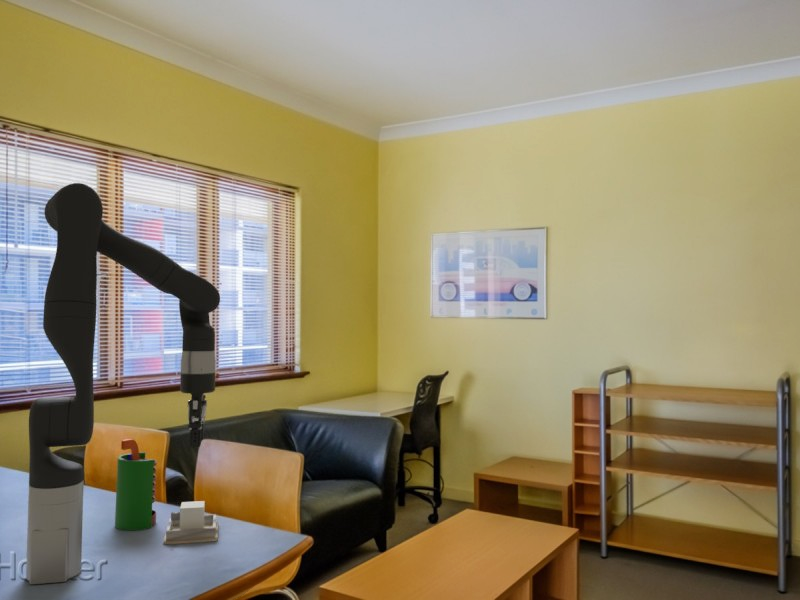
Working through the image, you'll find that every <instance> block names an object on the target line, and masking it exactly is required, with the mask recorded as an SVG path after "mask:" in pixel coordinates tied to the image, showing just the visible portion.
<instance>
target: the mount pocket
mask: <svg viewBox="0 0 800 600" xmlns="http://www.w3.org/2000/svg"><path fill="white" fill-rule="evenodd" d="M218 532H219V521H217V514H216V513H215V514H214V513H213V514H204V528H198V529H183V530H180V520H177V521H171V516H170V517H169V520H168V524H167V527H166V531H165V534H164V538H163V541H162V544H163V546H165V545H177V544H189V543H190V544H192V543H204V542H205V543H206V542H217V541H218V539H219V538H218V537H219V533H218Z"/></svg>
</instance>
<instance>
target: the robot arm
mask: <svg viewBox="0 0 800 600" xmlns="http://www.w3.org/2000/svg"><path fill="white" fill-rule="evenodd" d="M103 211H104V208H103V202H102V200H101V197H100V196H99V194H98V193H97V192H96V190H94V188H92V186H89V185H88V184H85V183H80V182H74V183H70V184H67V185H65V186H62V187H61V188H60V189H58V191H56V192H55V193H54V194H53V195H52V196H51V197H50V198H49V200H48V201H47V202H46V204H45V206H44V218H45V220H46V222H47V224H48V225H49V227H50V228H51V229H53V230H54V231H55V232H56V236H57V237H56V238H57V240H56V241H57V242H56V251H55V255H54V256H55V257H54V261H53V264H52V268H51V271H50V273H49V276H48V282H47V284H46V287H45V288H46V289H45V294H44V301H43V320H42V322H43V323H42V327H43V331H44V334H45V335H46V338H47V339H48V341H49V343H50V344H51V346H52V347H53V348H54V351H55V352H56V353H57V354H58V356H59V357H60V359H61V361H62V362H63V364H64V366H65V367H66V369H67V370H68V372H69V375H70V377H71V379H72V382H73V385H74V389H75V396H64V397H62V396H60V397H58V396H57V397H40V398H36V399H35V400H34V401H33V402H32V404H31V406H30V408H29V414H28V442H29V464H28V465H29V468H28V469H29V470H28V471H29V472H28V475H29V476H28V500H27V528H26V529H27V534H26V535H27V537H26V538H27V539H26V570H25V571H26V572H25V573H26V574H25V579H26V581H28V583H29V585H43V584H51V583H52V584H53V583H65V582H68V581H69V580H70V579H72V578H73V577H74V578H75V577H76V576H77V575H79V574H80V573H81V571H82V556H83V555H82V554H83V548H82V547H83V519H84V518H83V516H84V488H85V487H84V485H85V484H84V483H85V480H84V479H85V476H84V475H85V470H84V466H83V465H82V464H80V463H78V462H76V461H73V460H68V459H65V458H63V457H60V456H58V455H57V454H55V453H54V452H52V450H51V449H50V448H54V447H57V448H58V447H72V446H73V447H77V446H85V445H88V444H89V443H90V441H91V440H92V438H93V432H94V424H95V405H94V403H95V402H94V401H95V400H94V396H95V395H94V352H95V340H96V339H95V338H96V337H95V336H96V325H97V323H96V322H97V303H98V302H97V290H98V289H97V285H98V284H97V283H98V273H97V272H98V271H97V269H98V268H97V267H98V265H97V261H98V260H97V258H98V256H97V255H98V253H100V254H101V255H103V256H104V257H107V258H109V259H110V260H112V261H114V262H115V263H117V264H118V265H120V266H121V267H124V268H125V269H126V270H128V271H130V272H131V273H132V274H135V275H136V276H138V277H139V278H140V279H142V280H144V281H145V282H146V283H148V284H150V285H151V286H152V287H154V288H155V289H157V290H159V291H160V292H163V293H166V294H169V295H171V296H174V297H175V298H177V299H178V300H179V303H178V306H179V315H180V322H181V326H182V327H181V328H182V343H181V344H182V348H181V349H182V351H181V359H180V383H179V384H180V386H179V390H180V392H181V393H182V394H190V395H191V399H190V400H188V401H187V411H188V413H187V421H188V424H187V426H188V429H189V431H190V432H189V447H191V448H200V446H201V443H202V442H201V441H203V440H204V424H205V421H206V420H205V418H206V416H207V408H208V400H207V399H206V394H211V393H214V392H215V391H216V365H217V364H216V363H217V362H216V353H215V352H216V351H215V348H216V334H215V328H214V327H213V326H212V325H211V323H210V313H211V312H214V311H215V310H216V309H217V308H218V307H219V305H220V302H221V295H220V293H219V291H218V289H217V287H215V285H214V284H212V283H211V282H210V281H208V280H206V279H205V278H203V277H201V276H199V275H197V274H196V273H194V272H192V271H190V270H187V269H185V268H184V267H182V266H181V265H180V264H178V263H177V262H176V261H174V260H173V259H172V258H170V257H169V256H167V255H166V254H165V253H163V252H162V251H160V250H158V249H157V248H155V247H154V246H152V245H150V244H147V243H144V242H143V241H140V240H139V239H135V238H134V237H131V236H128V235H126V234H124V233H123V232H120V231H118V230H117V229H115V228H114V227H112V226H111V225H109V224H107V223H106V222H105V221H104V220H103V219H102V218H103V214H104V212H103Z"/></svg>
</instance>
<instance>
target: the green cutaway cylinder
mask: <svg viewBox="0 0 800 600" xmlns="http://www.w3.org/2000/svg"><path fill="white" fill-rule="evenodd" d="M120 443H121V445H120V446H121V447H120V449H121V450H123V451H126V450H130V451H131V452H130V453H125V454H121V455H118V457H117V467H116V468H117V470H116V490H115V491H116V493H115V496H116V497H115V514H114V515H115V516H114V527H115V528H116V529H118V530H124V531H139V530H140V531H141V530H142V531H143V530H147V529H151V528H152V526H154V525H155V524H156V522H157V511H155V510H154V509H153V504H154V503H156V497H155V495H156V487H157V482H156V480H157V475H156V473H157V467H155V466H157V465H158V462H157V460H156V459H152V458H149V459H148V458H146V452H140V451H139V445H138V443H137V442H136V440H135V439H133V438H125V439H121V442H120Z"/></svg>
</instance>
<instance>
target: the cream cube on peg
mask: <svg viewBox="0 0 800 600" xmlns="http://www.w3.org/2000/svg"><path fill="white" fill-rule="evenodd" d="M205 502H206V501H205V500H199V501H197V500H196V501H181V504H180V507H179V511H175V512H174V511H172V512H171V513H170V517H171V521H177V520H180V530H183V529H198V528H204V515H205V509H206V508H205V506H206V505H205Z"/></svg>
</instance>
